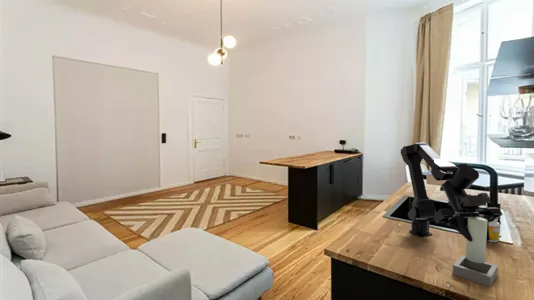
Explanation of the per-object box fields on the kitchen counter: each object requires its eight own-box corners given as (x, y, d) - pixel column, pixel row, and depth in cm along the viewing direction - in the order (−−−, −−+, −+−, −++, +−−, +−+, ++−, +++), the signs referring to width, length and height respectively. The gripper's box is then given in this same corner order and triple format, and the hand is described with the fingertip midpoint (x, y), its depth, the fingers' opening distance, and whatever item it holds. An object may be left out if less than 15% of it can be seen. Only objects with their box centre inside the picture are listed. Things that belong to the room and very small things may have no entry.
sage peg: (469, 253, 89) (471, 215, 87) (487, 259, 85) (489, 219, 83) (463, 258, 86) (465, 218, 85) (482, 264, 82) (484, 223, 81)
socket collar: (461, 263, 92) (462, 255, 92) (497, 274, 85) (497, 265, 85) (452, 273, 86) (453, 264, 86) (490, 287, 79) (490, 277, 79)
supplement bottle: (478, 237, 112) (479, 214, 111) (490, 236, 113) (491, 213, 112) (489, 242, 107) (491, 218, 106) (502, 241, 107) (503, 218, 106)
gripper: (440, 184, 87) (462, 231, 77) (499, 182, 87) (529, 230, 77) (425, 201, 96) (444, 245, 86) (479, 199, 95) (504, 244, 85)
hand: (479, 241), depth 83 cm, fingers closed on sage peg, 5 cm apart
